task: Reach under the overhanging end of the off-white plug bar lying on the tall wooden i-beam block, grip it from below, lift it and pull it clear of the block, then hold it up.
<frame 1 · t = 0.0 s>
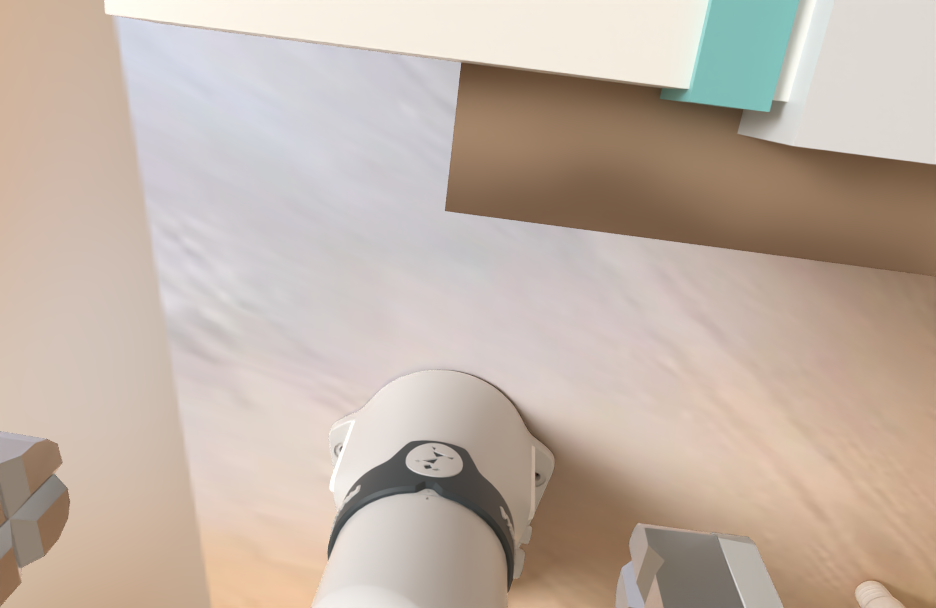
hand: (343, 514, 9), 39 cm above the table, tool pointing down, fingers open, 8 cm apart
plug bar: (535, 16, 18), point 26 cm above the table, touching wooden i-beam block
wooden i-beam block: (609, 66, 43), on the table
lightbulb: (863, 584, 55), on the table
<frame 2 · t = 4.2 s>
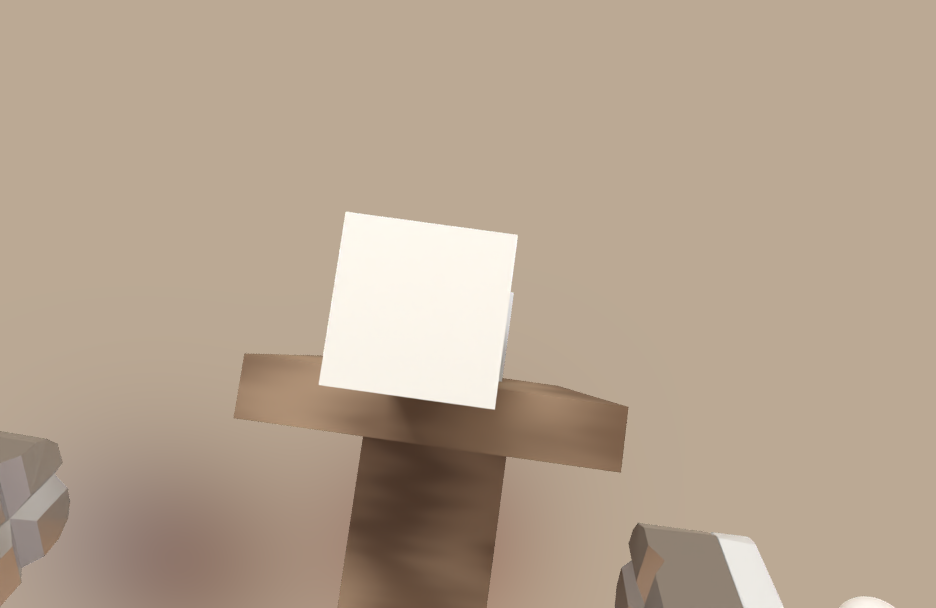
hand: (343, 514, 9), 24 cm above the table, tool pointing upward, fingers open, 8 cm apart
plug bar: (438, 378, 22), point 26 cm above the table, touching wooden i-beam block
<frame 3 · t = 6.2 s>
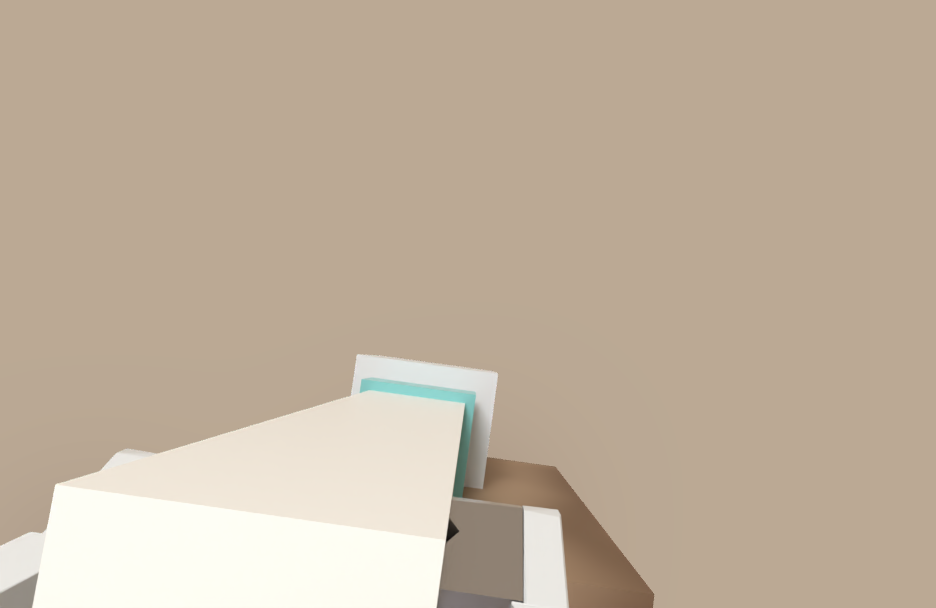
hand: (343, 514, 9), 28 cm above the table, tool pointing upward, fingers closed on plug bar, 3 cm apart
plug bar: (385, 529, 16), point 26 cm above the table, touching gripper, wooden i-beam block
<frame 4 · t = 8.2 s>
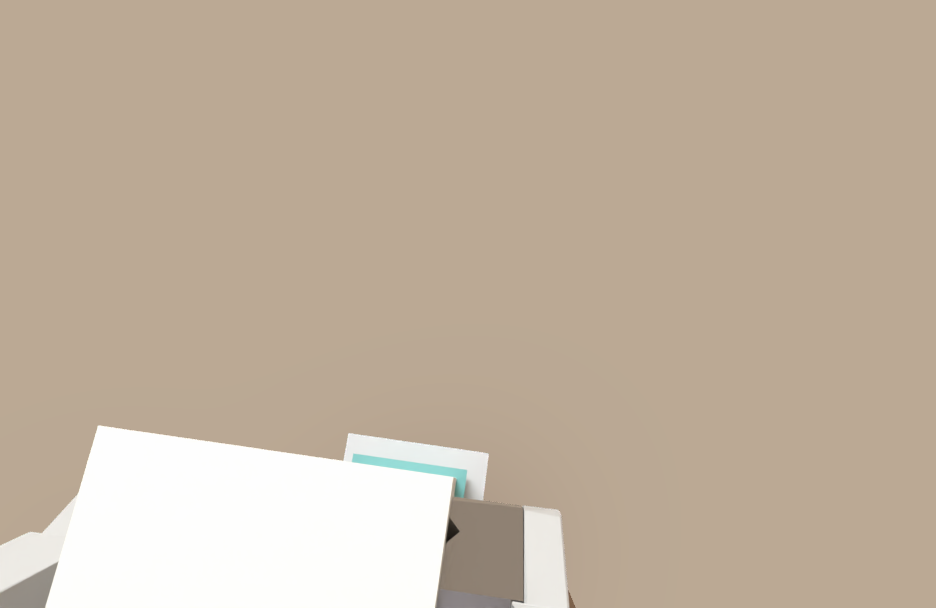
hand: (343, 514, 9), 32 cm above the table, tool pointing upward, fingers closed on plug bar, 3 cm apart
plug bar: (375, 599, 15), point 28 cm above the table, tilted 11°, touching gripper
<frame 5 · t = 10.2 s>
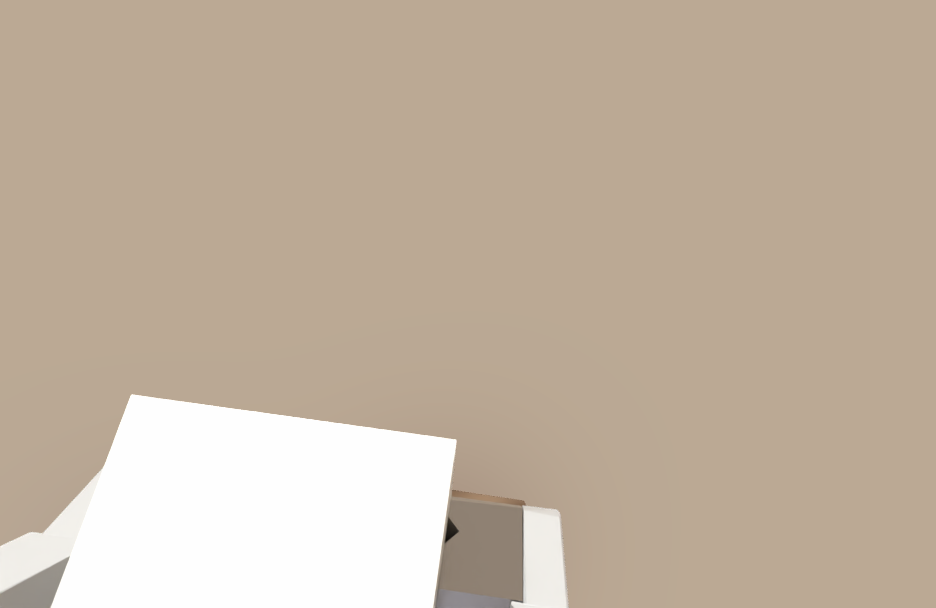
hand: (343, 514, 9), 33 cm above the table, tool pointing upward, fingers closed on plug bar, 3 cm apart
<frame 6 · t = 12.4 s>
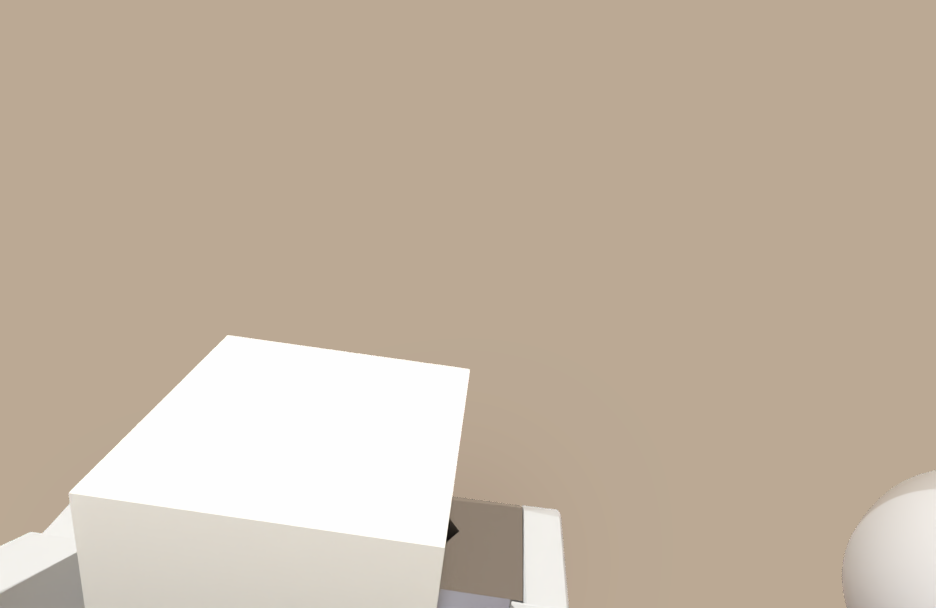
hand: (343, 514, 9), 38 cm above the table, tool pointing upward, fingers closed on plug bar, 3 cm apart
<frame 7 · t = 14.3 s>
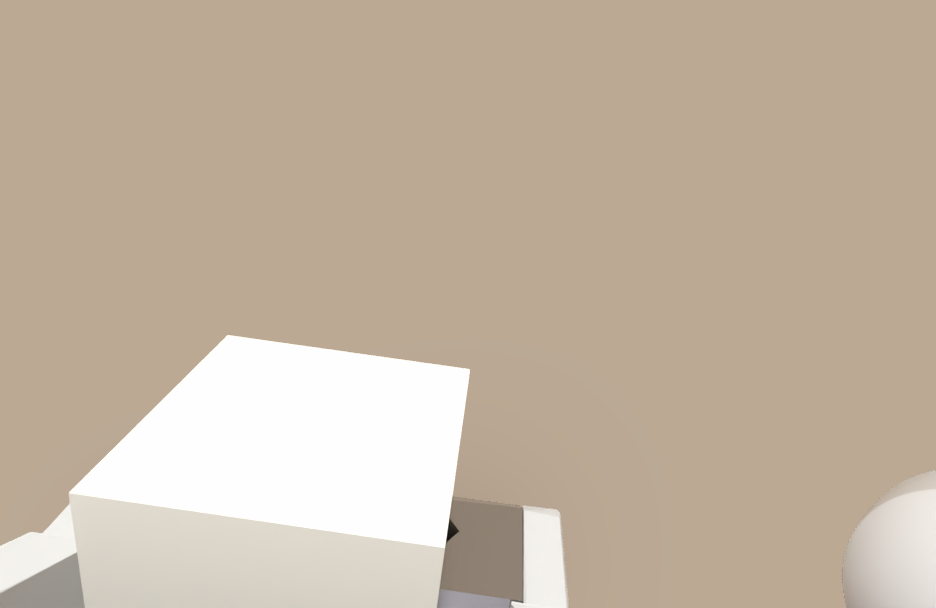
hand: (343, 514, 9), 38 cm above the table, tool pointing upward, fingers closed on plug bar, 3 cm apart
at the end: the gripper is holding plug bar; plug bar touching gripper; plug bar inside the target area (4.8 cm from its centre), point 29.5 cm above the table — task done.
